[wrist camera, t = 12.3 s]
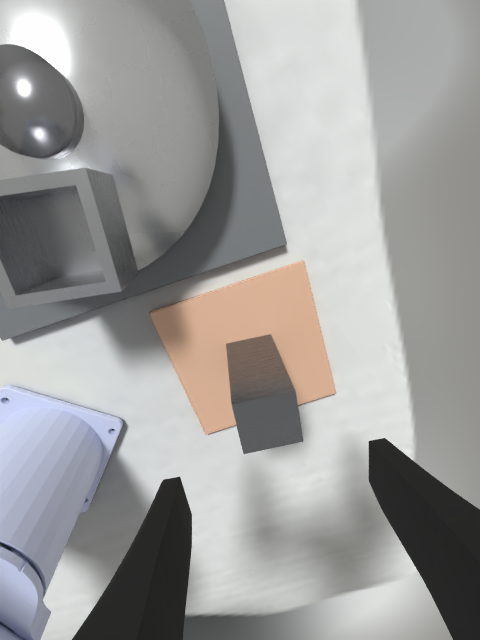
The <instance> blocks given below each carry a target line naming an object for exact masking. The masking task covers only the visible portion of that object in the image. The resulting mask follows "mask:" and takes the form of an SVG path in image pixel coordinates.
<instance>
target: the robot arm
mask: <svg viewBox="0 0 480 640" xmlns="http://www.w3.org/2000/svg"><path fill="white" fill-rule="evenodd" d="M5 397H6V398H8V399H9V400H7V399H6V398H5ZM122 426H123V421H122V420H121V419H120V418H117V417H114V416H111V415H108V414H104V413H101V412H98V411H94V410H91V409H88V408H84V407H81V406H78V405H74V404H71V403H68V402H64V401H61V400H58V399H54V398H51V397H48V396H44V395H41V394H38V393H35V392H31V391H28V390H25V389H21V388H18V387H15V386H11V385H6V386H4V387H3V388H2V389H0V640H40V639H41V637H42V634H43V632H44V629H45V626H46V624H47V621H48V619H49V616H50V614H51V611H50V610H49V609H48V608H47V607H46V606H45V605H44V602H43V598H44V596H45V593H46V591H47V589H48V586H49V584H50V582H51V579H52V577H53V575H54V572H55V570H56V568H57V565H58V563H59V561H60V558H61V556H62V553H63V551H64V549H65V546H66V544H67V542H68V539H69V537H70V535H71V532H72V530H73V528H74V525H75V523H76V521H77V518H78V516H79V514H80V513H85V512H87V510H88V509H89V506H90V504H91V501H92V499H93V496H94V494H95V491H96V489H97V487H98V484H99V482H100V479H101V477H102V474H103V472H104V470H105V467H106V465H107V462H108V460H109V457H110V455H111V452H112V450H113V448H114V445H115V443H116V440H117V438H118V435H119V433H120V431H121V428H122ZM111 429H114V430H115V431H112V430H111ZM369 482H370V484H371V487H372V489H373V491H374V493H375V496H376V498H377V500H378V502H379V504H380V506H381V508H382V510H383V512H384V514H385V516H386V517H387V519H388V521H389V522H390V524H391V526H392V528H393V529H394V531H395V533H396V534H397V536H398V538H399V540H400V541H401V543H402V545H403V546H404V548H405V550H406V551H407V553H408V555H409V556H410V558H411V560H412V562H413V563H414V565H415V567H416V568H417V570H418V572H419V573H420V575H421V577H422V578H423V580H424V582H425V584H426V586H427V588H428V590H429V591H430V593H431V595H432V597H433V599H434V601H435V603H436V605H437V607H438V609H439V611H440V613H441V616H442V617H443V620H444V622H445V624H446V626H447V628H448V630H449V632H450V634H451V636H452V638H453V640H480V510H479V509H478V508H476V507H475V506H473V505H472V504H471V503H469V502H468V501H466V500H465V499H463V498H462V497H461V496H459V495H457V494H456V493H454V492H453V491H452V490H451V489H449V488H448V487H447V486H445V485H444V484H443V483H441V482H440V481H439V480H437V479H436V478H435V477H433V476H432V475H431V474H429V473H428V472H426V471H425V470H424V469H422V468H421V467H420V466H419V465H418V464H416V463H415V462H414V461H413V460H411V459H410V458H409V457H408V456H406V455H405V454H404V453H403V452H401V451H400V450H399V449H398V448H396V447H395V446H394V445H393V444H392V443H390V442H389V441H388V440H386V439H385V438H383V439H378V440H372V441H369ZM191 547H192V514H191V511H190V508H189V504H188V501H187V498H186V495H185V492H184V488H183V485H182V482H181V479H180V477H176V478H171V479H165V480H163V481H162V483H161V485H160V487H159V490H158V492H157V494H156V496H155V499H154V501H153V503H152V505H151V507H150V509H149V511H148V513H147V516H146V518H145V520H144V522H143V524H142V526H141V527H140V529H139V531H138V533H137V535H136V537H135V539H134V541H133V543H132V545H131V547H130V548H129V550H128V552H127V554H126V556H125V557H124V559H123V561H122V563H121V564H120V566H119V568H118V570H117V571H116V573H115V575H114V577H113V578H112V580H111V581H110V583H109V585H108V586H107V588H106V590H105V591H104V593H103V594H102V596H101V597H100V599H99V601H98V602H97V604H96V605H95V607H94V608H93V610H92V611H91V613H90V614H89V616H88V617H87V619H86V620H85V621H84V623H83V624H82V626H81V627H80V629H79V630H78V632H77V633H76V635H75V636H74V637H73V639H72V640H183V627H184V617H185V607H186V597H187V588H188V578H189V568H190V558H191Z"/></svg>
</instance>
